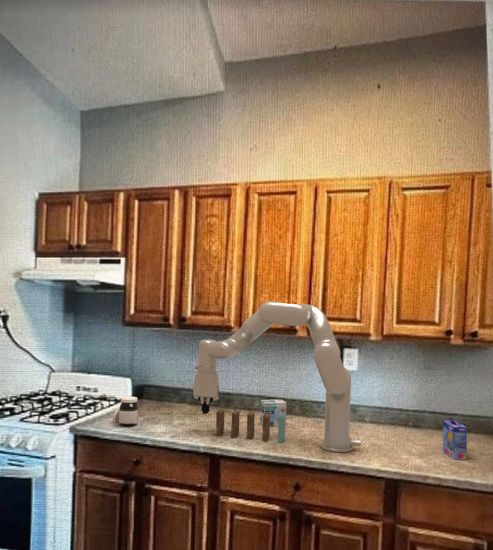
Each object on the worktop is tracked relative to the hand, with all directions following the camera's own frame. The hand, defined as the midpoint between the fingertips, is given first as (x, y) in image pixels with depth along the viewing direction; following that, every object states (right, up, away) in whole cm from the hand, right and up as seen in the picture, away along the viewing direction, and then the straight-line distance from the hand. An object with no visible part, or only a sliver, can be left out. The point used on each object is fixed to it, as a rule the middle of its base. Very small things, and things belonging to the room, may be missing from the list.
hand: (205, 413), depth 216 cm
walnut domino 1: (+6, -9, -2) cm, 11 cm away
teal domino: (+31, -9, -8) cm, 34 cm away
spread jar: (-36, -8, +10) cm, 38 cm away
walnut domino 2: (+13, -9, -3) cm, 16 cm away
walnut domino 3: (+19, -9, -5) cm, 21 cm away
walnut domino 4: (+25, -9, -6) cm, 27 cm away
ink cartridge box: (+96, -11, -20) cm, 99 cm away
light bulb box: (+29, -10, +17) cm, 35 cm away
